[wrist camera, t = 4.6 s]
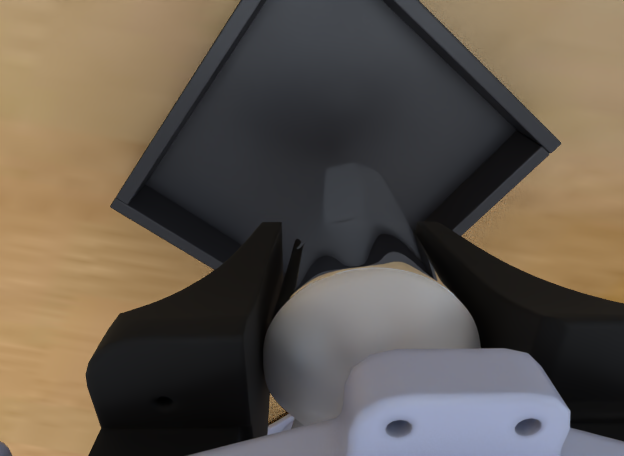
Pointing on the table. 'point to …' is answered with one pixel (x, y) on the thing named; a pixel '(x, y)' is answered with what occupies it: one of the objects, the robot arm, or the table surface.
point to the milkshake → (354, 294)
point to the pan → (329, 125)
